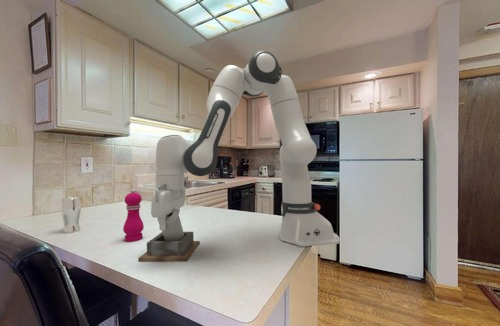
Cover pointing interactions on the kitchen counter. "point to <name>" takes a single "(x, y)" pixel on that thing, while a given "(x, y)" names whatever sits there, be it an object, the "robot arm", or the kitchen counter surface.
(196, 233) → the kitchen counter surface
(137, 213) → the pepper mill
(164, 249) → the collar plate
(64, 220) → the beer glass
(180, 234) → the beverage can
